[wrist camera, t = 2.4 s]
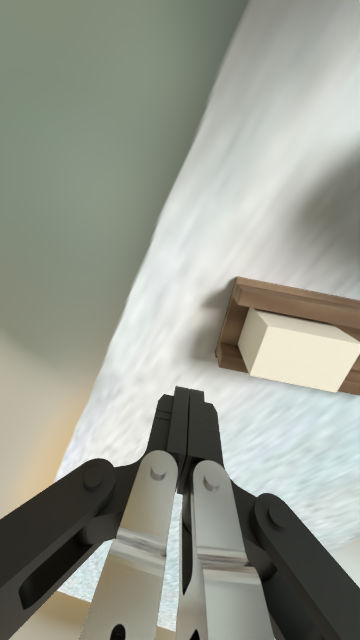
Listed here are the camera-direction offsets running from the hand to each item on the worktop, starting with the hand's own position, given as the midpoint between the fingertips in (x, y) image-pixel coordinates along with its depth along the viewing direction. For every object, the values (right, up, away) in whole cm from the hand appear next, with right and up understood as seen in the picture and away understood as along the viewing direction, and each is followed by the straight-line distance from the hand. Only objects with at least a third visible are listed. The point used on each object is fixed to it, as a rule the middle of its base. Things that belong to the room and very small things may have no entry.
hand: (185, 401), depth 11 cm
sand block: (+11, +3, +12) cm, 17 cm away
